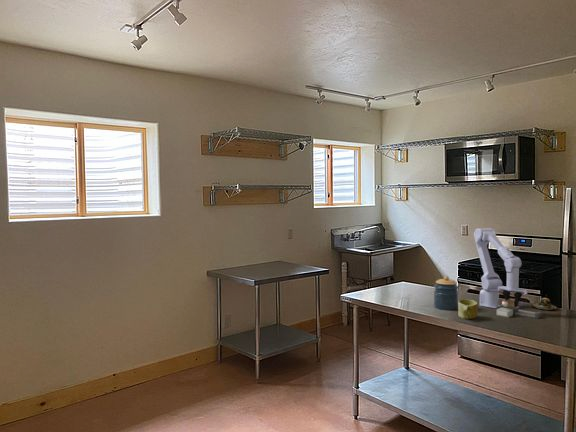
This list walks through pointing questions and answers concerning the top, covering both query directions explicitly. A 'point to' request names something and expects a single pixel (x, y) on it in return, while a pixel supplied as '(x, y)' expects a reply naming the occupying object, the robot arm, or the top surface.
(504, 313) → the grey square block
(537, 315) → the rail
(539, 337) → the top surface
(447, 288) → the canister
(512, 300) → the carriage
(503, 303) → the orange and white dome
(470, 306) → the mug
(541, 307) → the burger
